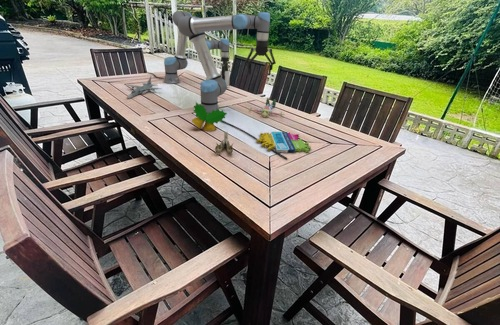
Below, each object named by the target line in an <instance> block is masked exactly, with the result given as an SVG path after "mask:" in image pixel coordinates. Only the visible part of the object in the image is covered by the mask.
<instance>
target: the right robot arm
mask: <svg viewBox="0 0 500 325" xmlns="http://www.w3.org/2000/svg"><path fill="white" fill-rule="evenodd" d="M270 23H271V13H270V12H265V11H264V12H263V11H259V12H258V13H257V15H254V14H244V13H243V14H242V13H238V14H232V15H219V16H218V15H217V16H209V17H198V16H195V15H192V16H184V17H181V18H180V19H179V21H178V27H177V29H178V32H179V31H180V33H181V34H183V35H184V36H187V38H188V40H189V42H191V43H192V44H193V46H194V49H195V51H196V54H197V56H198V59H199V62H200V64H201V66H202V69H203V71H204V74H205V76H206V78H205V79H204V80H202V81H201V82H200V85H199V86H200V87H199V89H200V104H201V106H204V109H206V112H208V113H211V112H212V110H214V111H216V110H217V109H219V111H221V110H220V108H219V102H218V99H219V98H218V97H220V96H222V95H223V94H224V93H225V92H227V89H228V86H227V84H226V81H225V80H224V79H222V77H221V74H220V73H219V72H218V69H217V67H216V64H215V62H214V59H213V56H212V54H211V51H210V50H209V48H208V46H207V43H206V41H205V37H207V34H206V32H218V31H230V30H231V31H232V30H246V29H247V30H248V29H249V30H256V40H255V41H256V42H255V48H254V47H251V48H250V52H249V53H248V55H247V57H246V59H245V61H244V62H245V63H246V64H247V69H248V74H249V75H251V73H252V62H253V61H254V60H255V59H256V58H257V57H259V56H260V57H265V58H266V59H267V61H268V62H269V63H270V64H269V65H268V76H271V74H272V73H271V72H272V70H273V66H274V65H276V64H277V63H276V62H277V61H276V60H275V57H274V53H273V49H272V48H268V46H269V36H270ZM254 52H255V53H254ZM253 53H254V55H253ZM267 53H269V55H270V56H269V55H268V54H267ZM252 55H253V56H252ZM208 113H207V115H208ZM222 123H224V124H227V125H228V126H231V127H233V128H235V129H236V130H239V131H241V132H243V133H245V134H247V135H248V136H249V137H251V138H253V139H254V140H256V141H257V139H258V138H257V137H256V136H254V135H252V134H251V133H249V132H247V131H246V130H244V129H242V128H239V127H238V126H237V125H236V126H235V125H234V124H231V123H229V122H226V121H224V120H222ZM262 143H263V142H261V143H260V144H262ZM268 147H269V146H268ZM270 151H272V152H274V153H275V154H277V155H279V156H280V157H281V158H283V159H285V160H288V157H287V156H285V155H283V154H281V153H280V152H276V149H275V150H274V149H271V150H270Z"/></svg>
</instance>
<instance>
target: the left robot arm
mask: <svg viewBox="0 0 500 325" xmlns="http://www.w3.org/2000/svg"><path fill="white" fill-rule="evenodd" d="M184 16H193V15H192V13H191V12H189V11H183V10H176V11H174V12H173V14H172V16H171V19H172V23H173V24H174V25H175V26H176V27H177V28H178V21H179V19H180V18H181V17H184ZM205 41H206V43H207V46H208V48H209V51H210V50H220V61H221V62H222V63H221V71H222V72H221V75H222V79H224V80H225V71H229V61H230V53H231V52H230V39H229V38H223V37H222V38H221V39H220V40H217V39H209V38H207V36H205ZM187 42H188V36H184V35H183V34H181V33H180V31H179V30H178V34H177V42H176V43H177V44H176V52H175V53H174V56H168V57H165V58H164V59H163V65H164V73H165V75H164V77H158V76H156V74H154V73H152V72H150V71H149V72H148V71H147V70H144V71H143V73H147V74H151V75H153V76H154V77H155V78H157V79H161V80H163V83H165V84H169V85H170V84H172V85H173V84H174V85H175V84H180V82H181V80H180V78H179V74H178V71H181V70H185V69H186V68H187V67H188V64H189V62H188V59H187V56H186V50H187Z"/></svg>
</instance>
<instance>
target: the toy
mask: <svg viewBox="0 0 500 325" xmlns="http://www.w3.org/2000/svg"><path fill="white" fill-rule="evenodd" d="M276 105H277V100H276V98H274V99H273V101H272V103H270V99H269V97H267V98H266V101H265V106H263V108H262V109H253V108H252V107H250V108H247V110H248V112H255V113H256V112H257V113H260V114H259V116H261V117H263V118H269V116H270V115H269V114H271V115H274V116H275V115H277V116H278V115H279V116H280V117H284V116H285V113H284V112H283V111H281V112H276V111H272V110H273V109H272V108H275V107H276Z"/></svg>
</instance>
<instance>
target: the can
mask: <svg viewBox="0 0 500 325" xmlns="http://www.w3.org/2000/svg"><path fill="white" fill-rule="evenodd" d="M219 72H220V73H219V74H221V72H222V70H220V71H219ZM230 75H231V74H230V71H229V70H228V71H225V81H226V84H227V87H229V86H230ZM221 77H222V75H221Z"/></svg>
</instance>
